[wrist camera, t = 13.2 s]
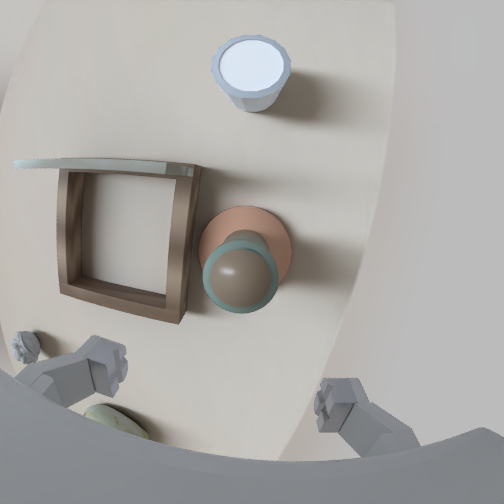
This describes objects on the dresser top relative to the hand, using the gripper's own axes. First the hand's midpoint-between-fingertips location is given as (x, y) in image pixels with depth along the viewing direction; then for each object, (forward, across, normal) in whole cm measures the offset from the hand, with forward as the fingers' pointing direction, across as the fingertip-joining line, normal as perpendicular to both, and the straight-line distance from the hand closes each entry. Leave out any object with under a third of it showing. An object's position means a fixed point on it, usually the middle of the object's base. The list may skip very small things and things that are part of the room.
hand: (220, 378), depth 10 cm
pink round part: (+21, 0, 0) cm, 21 cm away
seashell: (+21, +19, +36) cm, 45 cm away
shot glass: (+21, +2, -18) cm, 28 cm away
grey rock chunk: (+21, +35, +22) cm, 46 cm away
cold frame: (+21, +14, 0) cm, 25 cm away
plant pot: (+20, 0, 0) cm, 20 cm away
